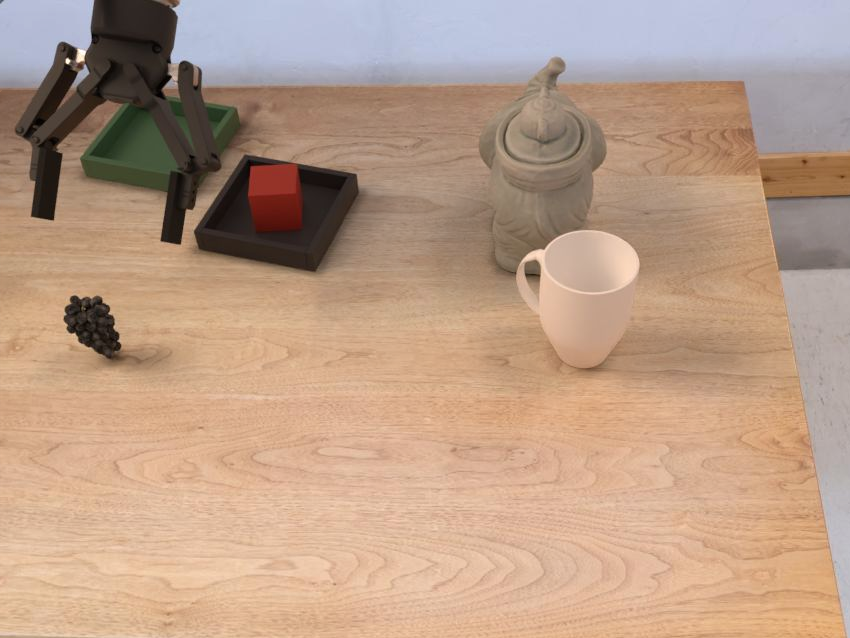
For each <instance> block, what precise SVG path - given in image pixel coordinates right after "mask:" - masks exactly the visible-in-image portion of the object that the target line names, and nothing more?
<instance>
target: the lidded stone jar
mask: <svg viewBox="0 0 850 638" xmlns="http://www.w3.org/2000/svg"><path fill="white" fill-rule="evenodd" d="M565 71H566V62H565V60H564V59H562V58H561V57H559V56H553V57H550V59H549V60H548V63H547V64H546V65H545V66H544V67H543V68H541V69H540V70H538V71H537V72H536V73H535V74H534V75H533V76H531V78H530V79H529V80H528V82H527V84H526V87H525V90H524V94H523V96H520V97H518V98H516V99H514V100H512V101H510V102H509V103H508V104H507V105H505V106H504V107H502V108H500V109H499V110H498V111H496V112H495V113H494V114H493V115H492V116H491V117H490V118H489V120H488V121H487V122H486V123H485V125H484V127H483V128H482V130H481V133H480V136H479V139H478V150H479V151H478V152H479V155H480V158H481V160H482V162H483V164H485V165H486V166H487V167H488V168H489V170H490V174H489V183H488V195H489V202H490V204H491V209H492V211H493V215H494V219H493V222H492V235H493V238H494V241H495V246H494V247H495V248H494V257H495V261H496V263H497V265H498V266H499V267H501V268H502V269H504V270H505V271H509V272H511V273H516V274H517V270H518V267H519V265H520V263H521V261H522V260H523V259H524V257H525V256H526V255H527V254H529V253H530V252H532V251H535V250H539V249H542V250H545V248H546V247H547V246H548V244H549V243H550V242H552V241H553V240H554V239H556V238H557V237H559V236H561V235H564V234H566V233H570V232H574V231H581V230H589V220H588V214H589V210H590V208H591V204H592V202H593V195H594V175H593V173H594V172H595V171H597V169H599V168H600V167H601V166H602V165H603V163H604V161H605V159H606V157H607V149H608V148H607V141H606V138H605V134H604V131H603V130H602V127H601V125H600V124H599V122H598V121H597V120H595V119H594V118H593V117H592V116H590V115H589V114H587V113H586V112H584V111H582V110H581V109H580V108H579V107H578V106H577V105H576V104H575V102H574V101H573V99H571V98H570V97H569V96H568V95H566V94H565V93H564V92H560V91H558V87H557V80H558V77H559V76H560V75H561V74H562V73H564V72H565ZM524 272H525V275H526V274H527V275H528V274H529V275H530V274H532V275H539V276H541V266H540V263H539V262H538V261H537V260H532V261H529V262H526V263H525V266H524Z"/></svg>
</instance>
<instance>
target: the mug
mask: <svg viewBox="0 0 850 638" xmlns="http://www.w3.org/2000/svg"><path fill="white" fill-rule="evenodd" d="M532 260H537V261H538V262H539V263H540V266H541V275H540V280H539V292H538V293H539V294H538V296H536V293H534V291H533V290H532V288H531V286H530V285H529V282H528V280H527V277H526V273H525V272H524V266H525V263H526V262H529V261H532ZM639 271H640V259H639V255H638V253H637V252H636V250H635V249H634V247H633V246H632V245H631V244H630V243H628V242H627V241H626V240H625V239H624V238H623V239H622V238H621V237H619V236H617V235H615V234H613V233H610V232H606V231H600V230H594V229H591V230H590V229H588V230H581V231H574V232H570V233H566V234H564V235H561V236H559V237H557V238H556V239H554V240H553V241H552V242H550V243H549V244H548V246H547V247H546V248H545V250H542V249H539V250H535V251H532V252H530V253H529V254H527V255H526V256H525V257H524V259H523V260H522V261H521V263H520V265H519V267H518V270H517V273H516V274H515V275H516V278H515V280H516V286H517V289H518V292H519V295H520V296H521V298H522V299H523V301H524V302H525V304H526V305H527V306H528V308H529V309H530V310H531V311H532V312H533V313H534V314H535V315H536V316H537V317H538V318H539V320H540V325H541V327H542V330H543V332H544V335H546V337H547V339H548V341H549V342H550V344H551V346H552V347H553V349H554V351H555V353H556V355H557V356H558V358H559V359H560V360H561V361H562V362H563V363H565V364H566V365H568V366H570V367H573V368H577V369H590V368H594V367H595V368H596V367H597V366H600V365H601V364H602V363H603V362H604V361H605V360H606V359H607V358H608V356H609V355H610V353H611V352H612V351H613V349H614V348H615V347H616V345H617V344H618V343H619V341H621V339H622V338H623V336H624V334H625V332H626V331H627V328H628V325H629V322H630V319H631V315H632V310H633V306H634V299H635V295H636V288H637V283H638V278H639Z"/></svg>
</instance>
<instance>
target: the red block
mask: <svg viewBox="0 0 850 638" xmlns="http://www.w3.org/2000/svg"><path fill="white" fill-rule="evenodd" d="M248 197H249V202H250V207H251V212H252V216H253V221H254V226H255V231H256V232H268V231H286V230H301V229H302V210H303V198H302V191H301V185H300V179H299V173H298V167H297V164H284V165H265V166H251V170H250V181H249V193H248Z"/></svg>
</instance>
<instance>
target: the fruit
mask: <svg viewBox="0 0 850 638" xmlns="http://www.w3.org/2000/svg"><path fill="white" fill-rule="evenodd" d="M69 302H70V304H67V305H66V306H65V307H64V310H63V311H64V313H65V314H64V315H63V318H62V319H63V322H64V324H66V325H67V326H66V327H65V329H66V331H67V333H69V334H71V335H73V334H75V335H76V337H77V342H78V343H79V344H81V345H84V347H86V348H88V349H89V348H91V349H92V350H93V351H94V352H95V353H97V354H98V355H102V356H105V358H106V359H108V360H113V359H114V358H115V357H116V352H119V351H120V350H121V349H122V343H121V342H120V341H119V340H120V336H121V335H120V333H119V332H118V331H117V330H116V329H115V328H114V327H115V325H116V319H115V316H114V315H113V314H109V313H110V311H111V306H110V305H109V304H107V303H106V302H104V301H103V297H101V296H100V295H95V296H93V297H92V298H91V297H90V296H87V295H86V296H84V297H82V298H80V297H79V296H78V295H76V294H74V295H71V296H70V297H69Z"/></svg>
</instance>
